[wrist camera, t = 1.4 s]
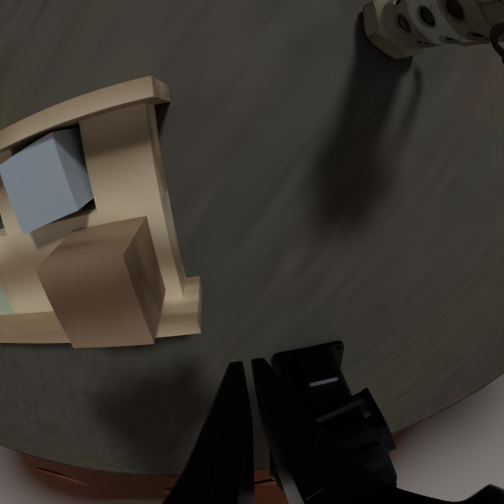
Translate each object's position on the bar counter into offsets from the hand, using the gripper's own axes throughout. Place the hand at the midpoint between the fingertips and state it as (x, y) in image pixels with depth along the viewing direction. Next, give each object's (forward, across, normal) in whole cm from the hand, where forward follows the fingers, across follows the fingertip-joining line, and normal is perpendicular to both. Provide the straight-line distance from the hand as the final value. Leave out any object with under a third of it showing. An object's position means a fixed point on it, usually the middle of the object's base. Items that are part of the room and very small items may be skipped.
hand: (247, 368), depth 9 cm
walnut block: (+10, +7, 0) cm, 12 cm away
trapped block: (+12, +10, -6) cm, 17 cm away
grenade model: (+12, -14, -13) cm, 22 cm away
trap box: (+12, +14, -3) cm, 18 cm away
